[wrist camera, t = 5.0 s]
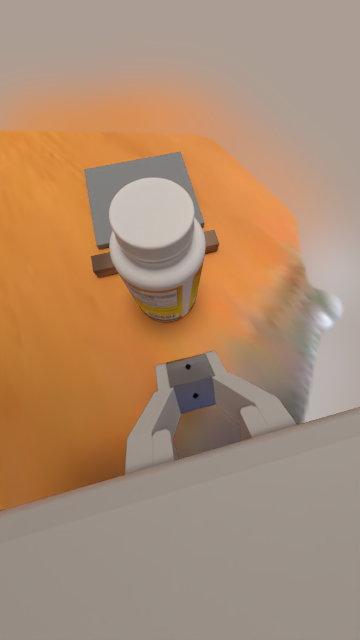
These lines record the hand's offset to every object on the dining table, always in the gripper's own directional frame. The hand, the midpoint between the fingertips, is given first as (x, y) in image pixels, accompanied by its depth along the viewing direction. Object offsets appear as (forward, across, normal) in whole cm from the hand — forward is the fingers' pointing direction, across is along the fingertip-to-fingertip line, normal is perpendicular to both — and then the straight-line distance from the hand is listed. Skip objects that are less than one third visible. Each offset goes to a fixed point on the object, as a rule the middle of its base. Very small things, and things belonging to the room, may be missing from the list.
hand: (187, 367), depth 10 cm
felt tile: (+18, 0, -8) cm, 20 cm away
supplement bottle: (+10, 0, 0) cm, 10 cm away
